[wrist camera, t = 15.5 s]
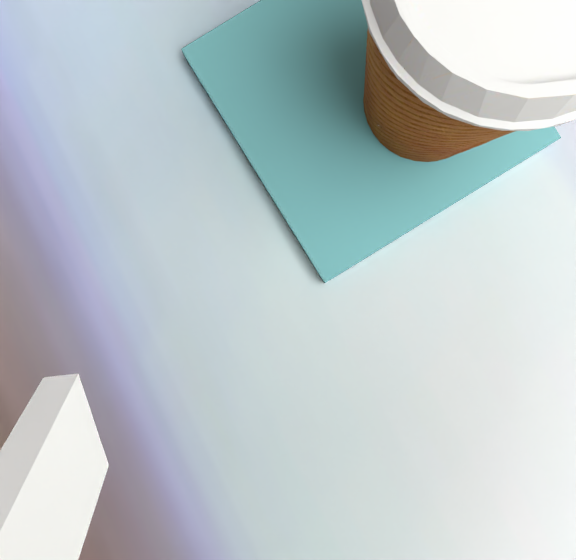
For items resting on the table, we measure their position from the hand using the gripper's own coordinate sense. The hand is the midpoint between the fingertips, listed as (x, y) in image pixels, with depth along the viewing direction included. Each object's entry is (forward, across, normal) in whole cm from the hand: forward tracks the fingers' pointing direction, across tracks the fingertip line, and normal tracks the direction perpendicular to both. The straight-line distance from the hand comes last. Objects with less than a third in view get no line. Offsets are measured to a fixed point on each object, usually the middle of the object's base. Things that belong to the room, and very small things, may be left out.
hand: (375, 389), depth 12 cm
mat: (+19, +4, +4) cm, 20 cm away
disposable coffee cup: (+18, +6, +3) cm, 19 cm away
